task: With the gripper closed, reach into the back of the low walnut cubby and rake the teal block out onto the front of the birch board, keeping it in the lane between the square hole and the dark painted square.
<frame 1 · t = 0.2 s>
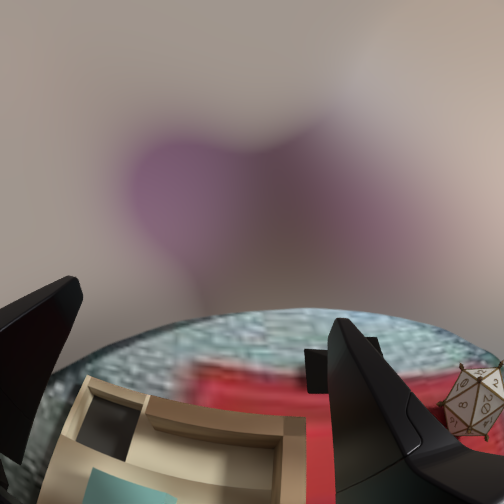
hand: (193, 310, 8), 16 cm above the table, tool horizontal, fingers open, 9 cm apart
game die: (451, 422, 18), on the table
black box: (347, 374, 26), on the table
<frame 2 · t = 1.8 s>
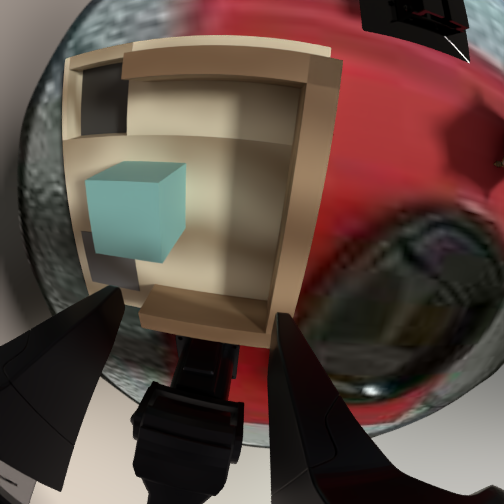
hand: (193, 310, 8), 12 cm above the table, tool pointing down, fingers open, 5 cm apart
block: (153, 194, 17), point 2 cm above the table, touching board
black box: (413, 16, 11), on the table
cubby: (210, 189, 19), resting on board
board: (177, 186, 19), on the table
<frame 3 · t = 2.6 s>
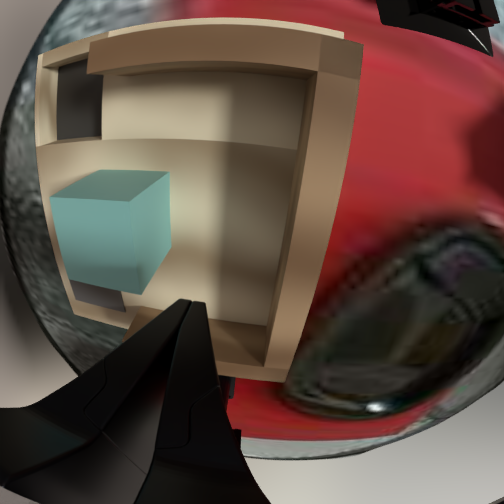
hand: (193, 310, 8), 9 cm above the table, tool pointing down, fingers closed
block: (134, 208, 14), point 2 cm above the table, touching board
black box: (433, 6, 8), on the table
cubby: (200, 200, 16), resting on board
board: (162, 197, 16), on the table
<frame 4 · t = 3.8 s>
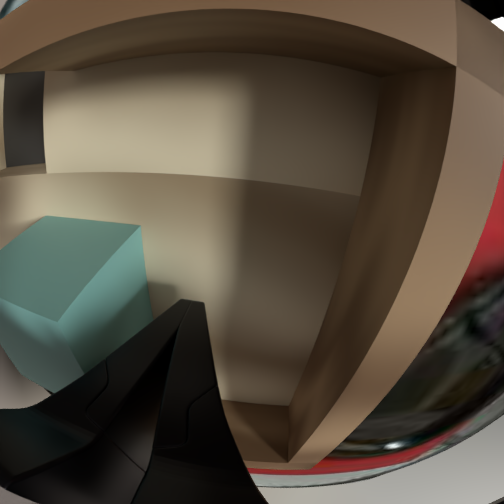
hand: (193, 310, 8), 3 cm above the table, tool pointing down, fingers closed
block: (97, 272, 9), point 2 cm above the table, touching gripper
black box: (503, 6, 3), on the table
cubby: (199, 258, 11), resting on board
board: (143, 251, 11), on the table
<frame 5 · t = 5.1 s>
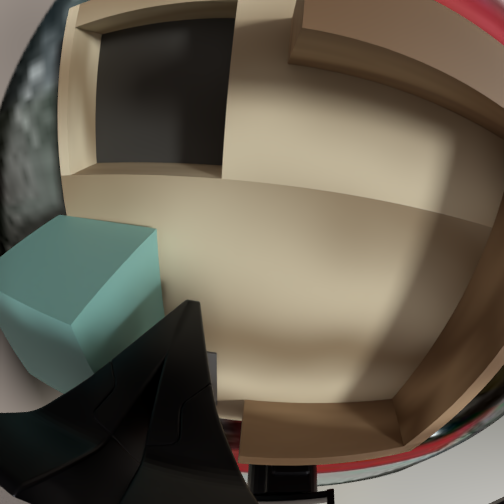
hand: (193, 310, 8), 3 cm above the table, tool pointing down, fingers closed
block: (110, 274, 10), point 2 cm above the table, touching board, gripper
cubby: (352, 274, 11), resting on board
board: (297, 268, 11), on the table
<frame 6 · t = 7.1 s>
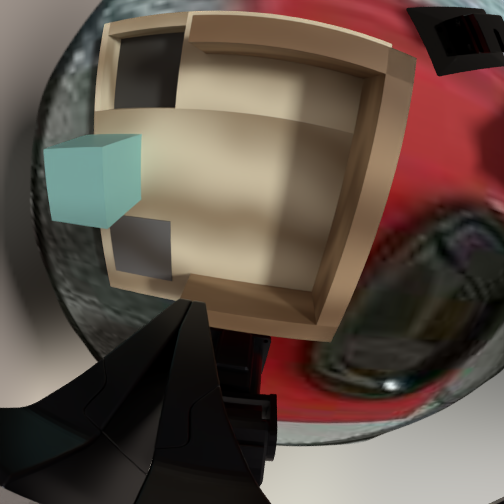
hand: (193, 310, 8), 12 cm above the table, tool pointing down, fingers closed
block: (112, 166, 16), point 2 cm above the table, touching board
black box: (460, 38, 11), on the table
cubby: (260, 173, 18), resting on board
board: (223, 168, 18), on the table
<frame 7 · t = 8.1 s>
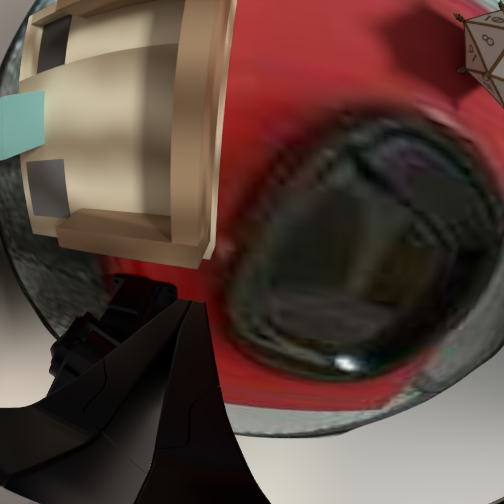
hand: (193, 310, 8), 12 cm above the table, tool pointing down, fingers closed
game die: (475, 60, 11), on the table
block: (28, 120, 14), point 2 cm above the table, touching board
cubby: (134, 104, 16), resting on board
board: (106, 107, 16), on the table
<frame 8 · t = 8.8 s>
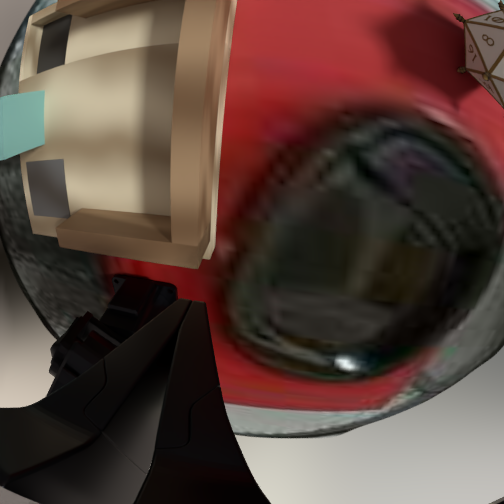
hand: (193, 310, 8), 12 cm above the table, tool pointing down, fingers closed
game die: (475, 60, 11), on the table
block: (28, 120, 14), point 2 cm above the table, touching board
cubby: (134, 104, 16), resting on board
board: (106, 107, 16), on the table
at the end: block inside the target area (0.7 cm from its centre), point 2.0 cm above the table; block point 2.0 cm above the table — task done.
